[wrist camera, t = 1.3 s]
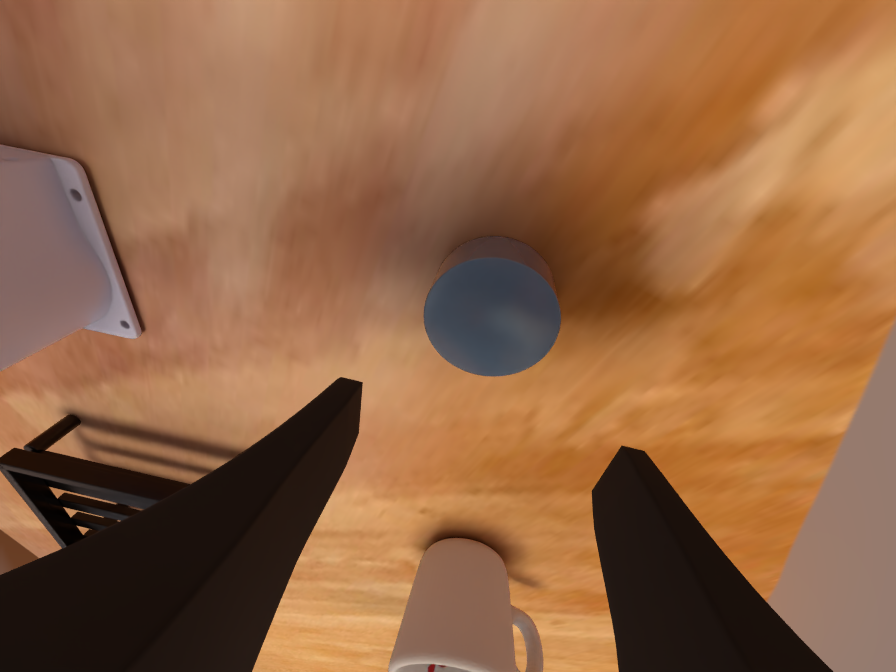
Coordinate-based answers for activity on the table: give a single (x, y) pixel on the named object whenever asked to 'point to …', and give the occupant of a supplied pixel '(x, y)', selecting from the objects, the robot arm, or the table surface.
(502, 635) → the cup
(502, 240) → the glossy blue puck
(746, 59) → the table surface
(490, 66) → the table surface
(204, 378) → the table surface
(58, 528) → the rack
